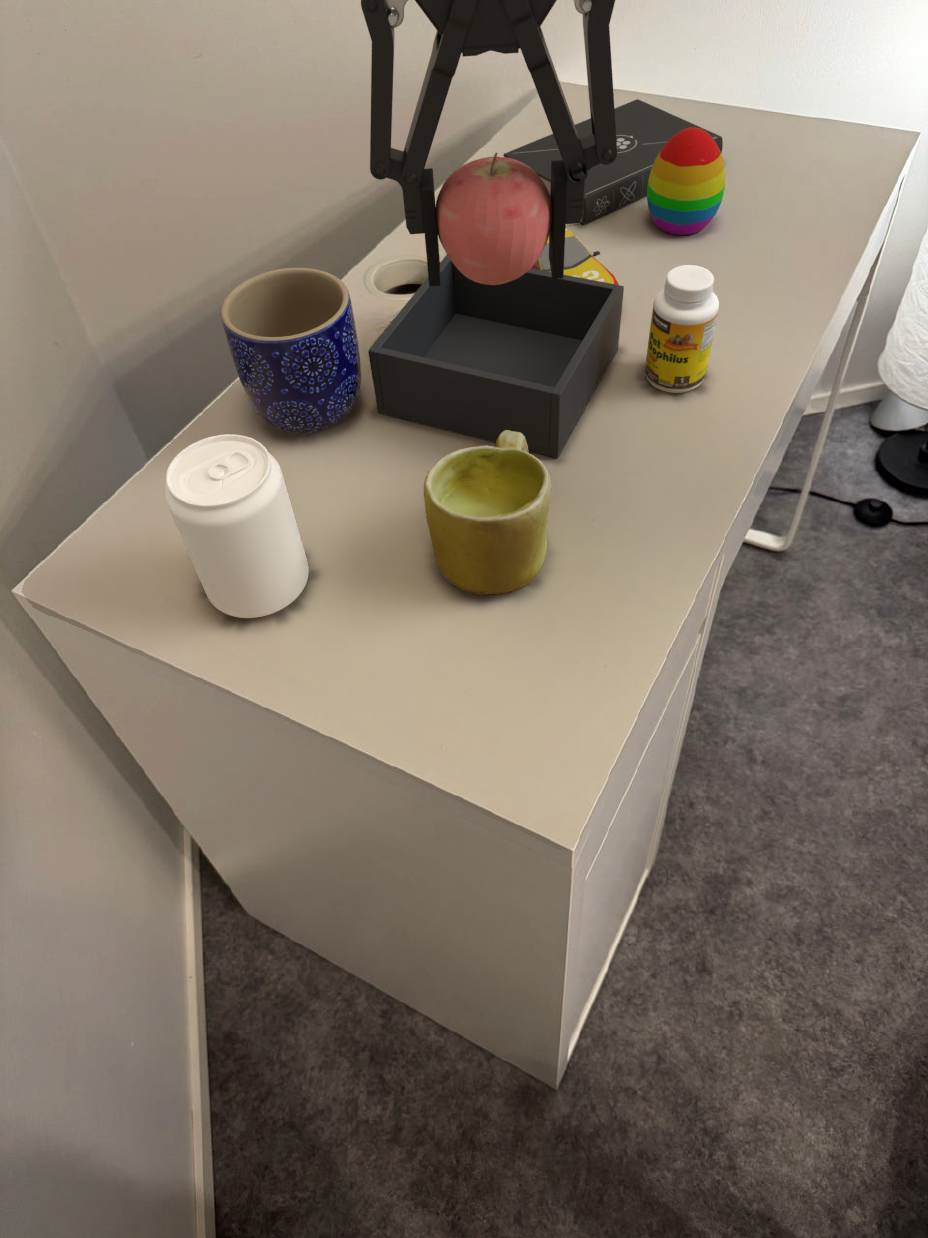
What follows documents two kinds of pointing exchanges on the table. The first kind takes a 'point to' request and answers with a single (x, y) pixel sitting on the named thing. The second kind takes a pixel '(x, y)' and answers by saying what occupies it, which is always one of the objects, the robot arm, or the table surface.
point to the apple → (493, 219)
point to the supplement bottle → (682, 330)
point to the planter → (295, 347)
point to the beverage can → (237, 525)
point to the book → (636, 153)
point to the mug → (489, 515)
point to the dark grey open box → (498, 355)
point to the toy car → (577, 261)
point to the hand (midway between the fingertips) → (495, 270)
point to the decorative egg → (686, 182)
